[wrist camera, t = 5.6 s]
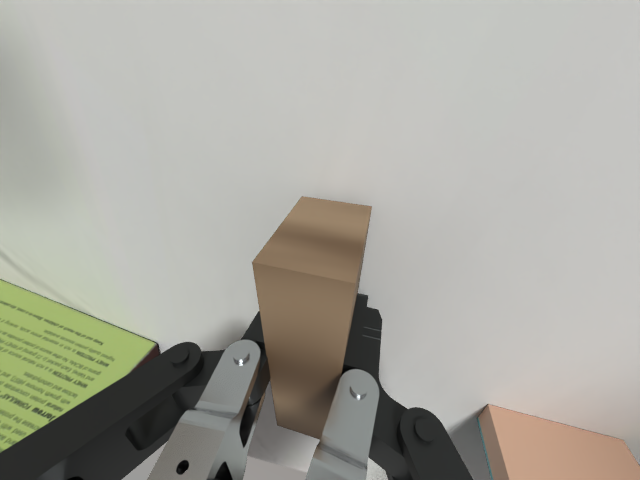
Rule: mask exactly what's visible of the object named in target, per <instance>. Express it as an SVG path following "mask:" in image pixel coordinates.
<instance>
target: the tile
mask: <svg viewBox="0 0 640 480" xmlns="http://www.w3.org/2000/svg"><path fill="white" fill-rule="evenodd" d="M477 421H478V425H479V430H480V434H481V438H482V442H483V447H484V451H485V455H486V459H487V463H488V468H489V472H490V476H491V480H640V466H639V464H638V463H637V461H636V460H635V458H634V456H633V455H632V453H631V452H630V450H629V449H628V447H627V445H626V444H625V442H624V441H623V440H621V439H617V438H613V437H609V436H605V435H602V434H598V433H594V432H590V431H587V430H583V429H579V428H575V427H572V426H568V425H564V424H560V423H557V422H553V421H549V420H545V419H542V418H538V417H534V416H530V415H527V414H523V413H519V412H515V411H512V410H508V409H504V408H500V407H497V406H493V405H489V404H488V405H487V406H486V408H485V409H484V410H483V412H482V413H481V414H480V415H479V417H478V418H477Z"/></svg>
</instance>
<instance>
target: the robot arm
mask: <svg viewBox="0 0 640 480" xmlns="http://www.w3.org/2000/svg"><path fill="white" fill-rule="evenodd" d="M367 300H368V295H363V294H359V293H357V297H356V302H355V307H354V312H353V317H352V323H351V328H350V333H349V338H348V343H347V348H346V353H345V358H344V363H343V369H342V374H341V377H340V380H339V383H338V387H337V390H336V393H335V396H334V399H333V402H332V405H331V408H330V411H329V414H328V418H327V421H326V424H325V427H324V430H323V433H322V436H321V439H320V442H319V444H318V445H317V447H316V449H315V452H314V455H313V458H312V461H311V464H310V467H309V470H308V473H307V476H306V479H305V480H366V475H367V462H368V457H369V458H370V459H372V460H373V461H374V462H375V463H377V464H378V465H379V466H380V467H382V468H383V469H384V470H385V471H386V474H387V477H388V480H473V479H472V477H471V475H470V473H469V472H468V470H467V468H466V466H465V464H464V462H463V461H462V459H461V457H460V455H459V453H458V452H457V450H456V448H455V446H454V444H453V442H452V441H451V439H450V437H449V435H448V433H447V432H446V430H445V428H444V426H443V425H442V423H441V422H440V420H439V419H438V418H437V417H436V416H435V415H434V414H432V413H431V412H429V411H428V410H425V409H423V408H417V407H415V408H410V409H407V408H405V407H404V406H402V405H401V404H399V403H398V402H396V401H395V400H393V399H392V398H391V397H389V396H388V395H387V393H386V392H385V391H384V389H383V388H382V386H381V384H380V381H379V359H380V344H381V329H382V318H381V316H380V313H379V311H378V310H377V309H373V308H368V307H367ZM270 378H271V377H270V370H269V364H268V357H267V355H266V349H265V342H264V336H263V329H262V323H261V316H260V311H258V313H257V315H256V316H255V318H254V320H253V321H252V323H251V324H250V326H249V328H248V329H247V331H246V333H245V334H244V336H243V337H242V339H241V340H239V341H236V342H234V343H232V344H231V345H230V346H228V347H227V349H225V350H220V351H203V352H201V350H200V347H199V346H198V345H197V344H195V343H192V342H184V343H180V344H177V345H175V346H173V347H171V348H170V349H168V350H166V351H165V352H163V353H162V354H160V355H158V356H157V357H155V358H153V359H152V360H150V361H149V362H147V363H145V364H144V365H142V366H140V367H139V368H137V369H136V370H134V371H132V372H131V373H129V374H127V375H126V376H124V377H122V378H121V379H119V380H118V381H116V382H114V383H113V384H111V385H109V386H108V387H106V388H105V389H103V390H101V391H100V392H98V393H96V394H95V395H93V396H92V397H90V398H88V399H87V400H85V401H83V402H82V403H80V404H79V405H77V406H75V407H74V408H72V409H70V410H69V411H67V412H66V413H64V414H62V415H61V416H59V417H57V418H56V419H54V420H53V421H51V422H49V423H48V424H46V425H44V426H43V427H41V428H40V429H38V430H36V431H35V432H33V433H31V434H30V435H28V436H26V437H25V438H23V439H22V440H20V441H18V442H17V443H15V444H13V445H12V446H10V447H9V448H7V449H5V450H4V451H2V452H0V480H121V479H123V478H124V477H125V476H126V475H127V474H129V473H130V472H131V471H132V470H133V469H135V468H136V467H137V466H138V465H139V464H141V463H142V462H143V461H144V460H145V459H147V458H148V457H149V456H150V455H151V454H153V453H154V452H155V451H156V450H157V449H159V448H160V447H161V446H162V445H163V444H164V443H166V442H167V441H168V442H167V444H166V446H165V448H164V449H163V451H162V453H161V455H160V457H159V459H158V460H157V462H156V464H155V466H154V468H153V470H152V471H151V473H150V475H149V477H148V479H147V480H243V476H244V472H245V467H246V461H247V453H248V449H249V446H250V442H251V439H252V436H253V433H254V429H255V426H256V423H257V420H258V417H259V413H260V410H261V407H262V404H263V401H264V397H265V390H266V388H267V385H268V383H269V381H270ZM186 470H187V471H186ZM185 471H186V472H185ZM184 472H185V473H184ZM183 473H184V474H183Z"/></svg>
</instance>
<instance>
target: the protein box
mask: <svg viewBox="0 0 640 480" xmlns="http://www.w3.org/2000/svg"><path fill="white" fill-rule="evenodd" d="M158 355H159V351H158V347H157V344H156V343H154V342H152V341H150V340H147V339H145V338H143V337H140V336H138V335H135V334H133V333H130V332H128V331H126V330H123V329H121V328H118V327H116V326H113V325H111V324H108V323H106V322H103V321H101V320H99V319H96V318H94V317H91V316H89V315H86V314H84V313H82V312H79V311H77V310H74V309H72V308H69V307H67V306H64V305H62V304H59V303H57V302H55V301H52V300H50V299H47V298H45V297H42V296H40V295H37V294H35V293H32V292H30V291H28V290H25V289H23V288H20V287H18V286H15V285H13V284H10V283H7V282H5V281H3V280H0V452H2V451H4V450H5V449H7V448H9V447H10V446H12V445H13V444H15V443H17V442H18V441H20V440H22V439H23V438H25V437H26V436H28V435H30V434H31V433H33V432H35V431H36V430H38V429H40V428H41V427H43V426H44V425H46V424H48V423H49V422H51V421H53V420H54V419H56V418H57V417H59V416H61V415H62V414H64V413H66V412H67V411H69V410H70V409H72V408H74V407H75V406H77V405H79V404H80V403H82V402H83V401H85V400H87V399H88V398H90V397H92V396H93V395H95V394H96V393H98V392H100V391H101V390H103V389H105V388H106V387H108V386H109V385H111V384H113V383H114V382H116V381H118V380H119V379H121V378H122V377H124V376H126V375H127V374H129V373H131V372H132V371H134V370H136V369H137V368H139V367H140V366H142V365H144V364H145V363H147V362H149V361H150V360H152V359H153V358H155V357H157V356H158Z"/></svg>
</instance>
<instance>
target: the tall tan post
mask: <svg viewBox="0 0 640 480" xmlns="http://www.w3.org/2000/svg"><path fill="white" fill-rule="evenodd" d="M371 209H372V207H371V206H364V205H357V204H350V203H344V202H337V201H330V200H323V199H316V198H310V197H303V196H302V197H301V198H300V200H299V201H298V202H297V204H296V205H295V206H294V208H293V209H292V210H291V212H290V213H289V214H288V216H287V217H286V218H285V220H284V221H283V222H282V223H281V225H280V226H279V227H278V229H277V230H276V231H275V233H274V234H273V235H272V237H271V238H270V239H269V241H268V242H267V243H266V245H265V246H264V247H263V249H262V250H261V251H260V253H259V254H258V255H257V256H256V258H255V259H254V260H253V262H252V264H253V270H254V277H255V283H256V290H257V297H258V303H259V310H260V316H261V323H262V329H263V336H264V342H265V349H266V355H267V357H268V364H269V370H270V377H271V378H270V382H271V388H272V395H273V401H274V408H275V414H276V421H277V425H278V426H281V427H284V428H287V429H290V430H293V431H296V432H299V433H302V434H305V435H308V436H311V437H314V438H317V439H321V436H322V433H323V430H324V427H325V424H326V421H327V418H328V414H329V411H330V408H331V405H332V402H333V399H334V396H335V393H336V390H337V387H338V383H339V380H340V377H341V374H342V369H343V363H344V358H345V353H346V348H347V343H348V338H349V333H350V328H351V323H352V317H353V312H354V307H355V302H356V297H357V293H358V287H359V281H360V275H361V269H362V263H363V257H364V251H365V245H366V239H367V233H368V227H369V221H370V215H371Z"/></svg>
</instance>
